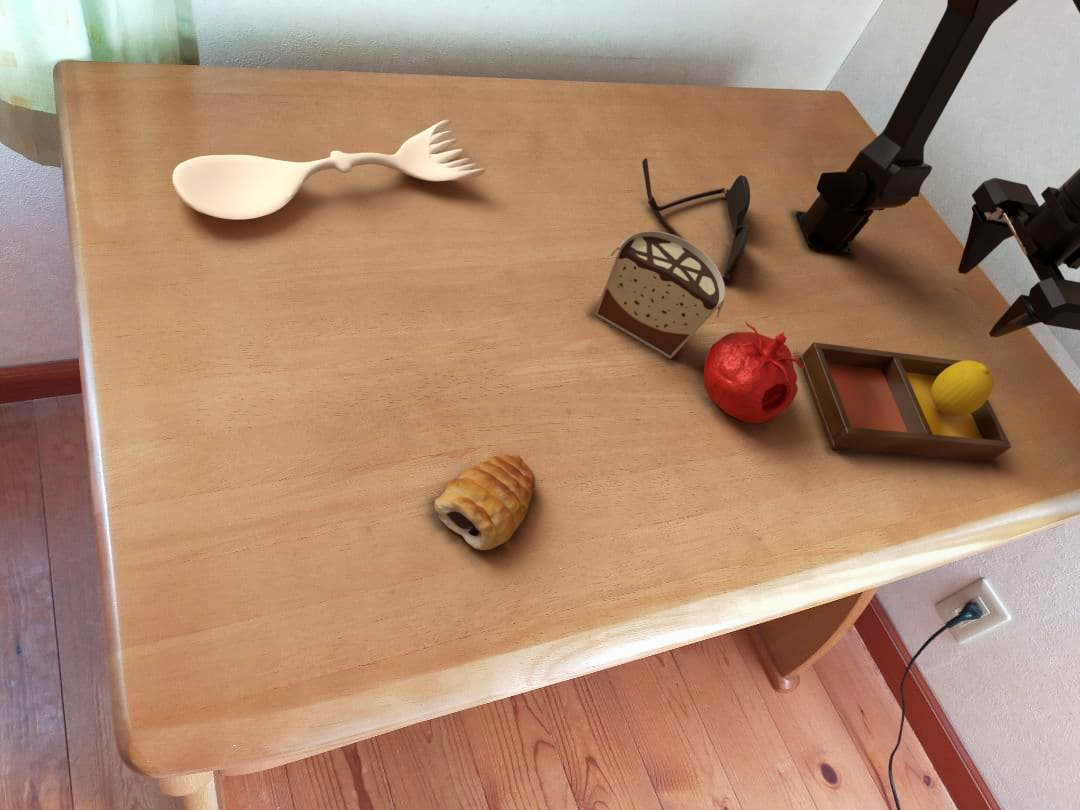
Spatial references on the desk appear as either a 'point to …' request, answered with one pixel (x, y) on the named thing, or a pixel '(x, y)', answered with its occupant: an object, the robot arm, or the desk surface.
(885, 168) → the robot arm
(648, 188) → the sunglasses
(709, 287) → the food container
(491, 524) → the pastry
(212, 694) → the desk surface
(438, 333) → the desk surface
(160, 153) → the desk surface
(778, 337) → the pomegranate
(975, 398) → the lemon
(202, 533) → the desk surface
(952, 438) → the sorting tray
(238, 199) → the spoon
